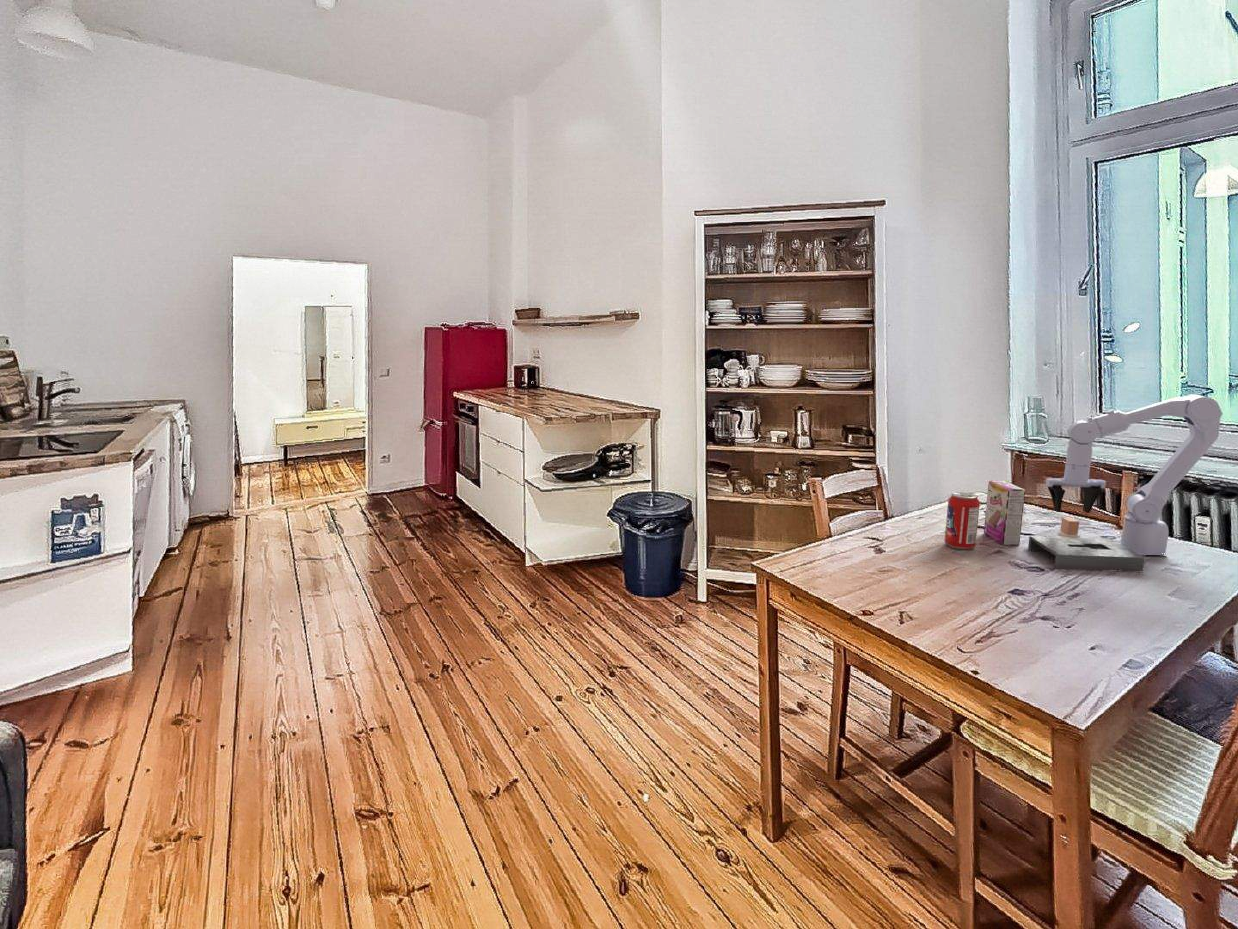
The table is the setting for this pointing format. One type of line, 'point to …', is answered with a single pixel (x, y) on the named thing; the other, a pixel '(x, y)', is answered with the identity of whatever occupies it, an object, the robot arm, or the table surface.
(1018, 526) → the candy bar box
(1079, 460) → the robot arm
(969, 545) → the soda can
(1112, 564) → the keyhole bracket
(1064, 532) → the peg
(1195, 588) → the table surface
